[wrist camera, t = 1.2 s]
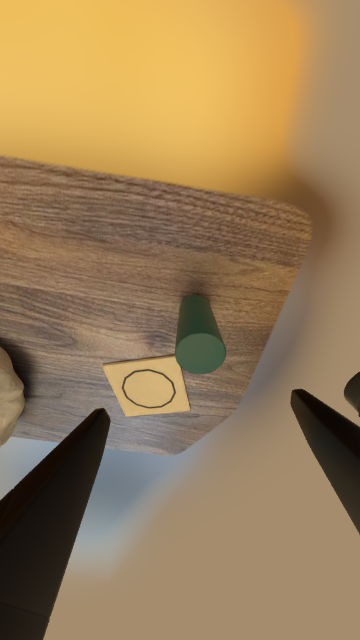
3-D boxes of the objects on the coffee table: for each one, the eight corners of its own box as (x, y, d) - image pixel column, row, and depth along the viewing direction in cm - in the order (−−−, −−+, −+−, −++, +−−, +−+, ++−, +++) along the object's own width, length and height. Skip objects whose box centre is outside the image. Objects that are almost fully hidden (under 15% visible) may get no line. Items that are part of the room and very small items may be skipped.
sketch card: (190, 408, 25) (190, 411, 25) (126, 414, 26) (125, 417, 26) (177, 354, 21) (177, 356, 21) (102, 364, 22) (101, 366, 22)
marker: (211, 317, 19) (227, 371, 11) (182, 321, 19) (179, 376, 11) (207, 289, 17) (224, 329, 10) (177, 294, 18) (169, 336, 10)
